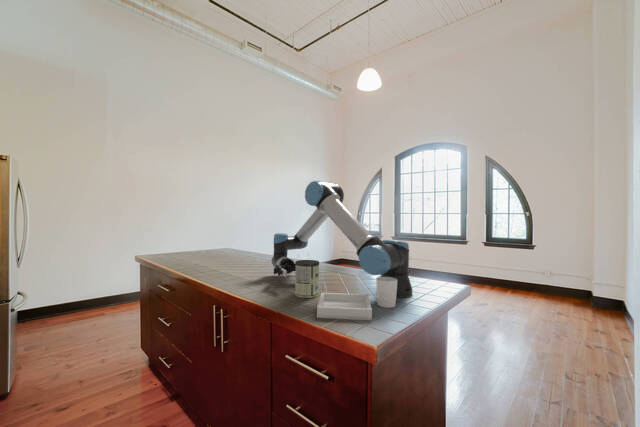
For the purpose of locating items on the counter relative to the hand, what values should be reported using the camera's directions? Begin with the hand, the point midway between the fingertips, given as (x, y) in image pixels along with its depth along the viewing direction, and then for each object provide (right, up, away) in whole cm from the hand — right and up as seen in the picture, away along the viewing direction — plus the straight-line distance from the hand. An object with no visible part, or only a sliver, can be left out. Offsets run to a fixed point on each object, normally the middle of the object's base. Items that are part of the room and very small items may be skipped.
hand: (300, 272), depth 129 cm
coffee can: (+3, -8, -7) cm, 11 cm away
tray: (+18, -8, -26) cm, 32 cm away
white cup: (+34, -8, -19) cm, 40 cm away
